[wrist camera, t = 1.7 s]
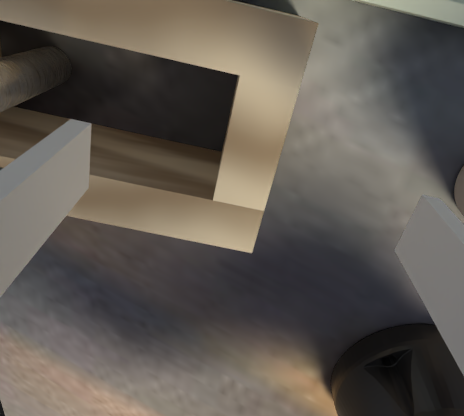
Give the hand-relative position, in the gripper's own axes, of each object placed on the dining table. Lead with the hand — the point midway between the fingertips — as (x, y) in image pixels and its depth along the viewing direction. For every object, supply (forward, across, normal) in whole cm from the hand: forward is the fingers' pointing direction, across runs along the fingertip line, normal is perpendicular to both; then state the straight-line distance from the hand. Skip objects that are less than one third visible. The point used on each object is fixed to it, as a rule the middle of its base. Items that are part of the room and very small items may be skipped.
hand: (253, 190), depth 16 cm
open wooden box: (+14, +9, 0) cm, 17 cm away
